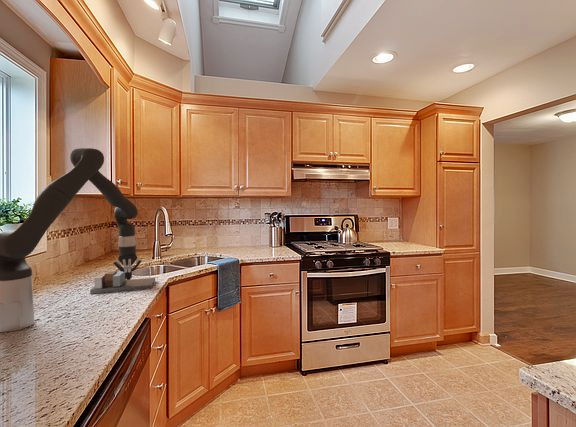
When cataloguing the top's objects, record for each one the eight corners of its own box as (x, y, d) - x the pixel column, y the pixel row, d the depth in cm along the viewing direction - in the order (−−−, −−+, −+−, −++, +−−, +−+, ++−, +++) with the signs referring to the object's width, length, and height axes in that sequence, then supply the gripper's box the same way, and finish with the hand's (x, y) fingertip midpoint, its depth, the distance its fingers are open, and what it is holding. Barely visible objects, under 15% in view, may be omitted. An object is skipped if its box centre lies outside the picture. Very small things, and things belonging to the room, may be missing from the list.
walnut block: (114, 285, 147) (113, 273, 147) (105, 286, 146) (104, 273, 146) (117, 282, 152) (116, 270, 152) (108, 283, 151) (107, 271, 151)
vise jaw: (120, 286, 145) (119, 275, 144) (113, 286, 144) (112, 276, 144) (126, 279, 156) (125, 270, 156) (119, 280, 155) (119, 270, 155)
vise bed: (151, 288, 148) (150, 274, 147) (90, 294, 141) (89, 279, 140) (155, 281, 161) (154, 268, 161) (100, 285, 154) (99, 272, 154)
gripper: (143, 243, 155) (144, 276, 156) (114, 244, 152) (115, 278, 153) (140, 245, 148) (141, 280, 149) (110, 246, 145) (111, 282, 146)
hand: (128, 279), depth 151 cm, fingers closed
